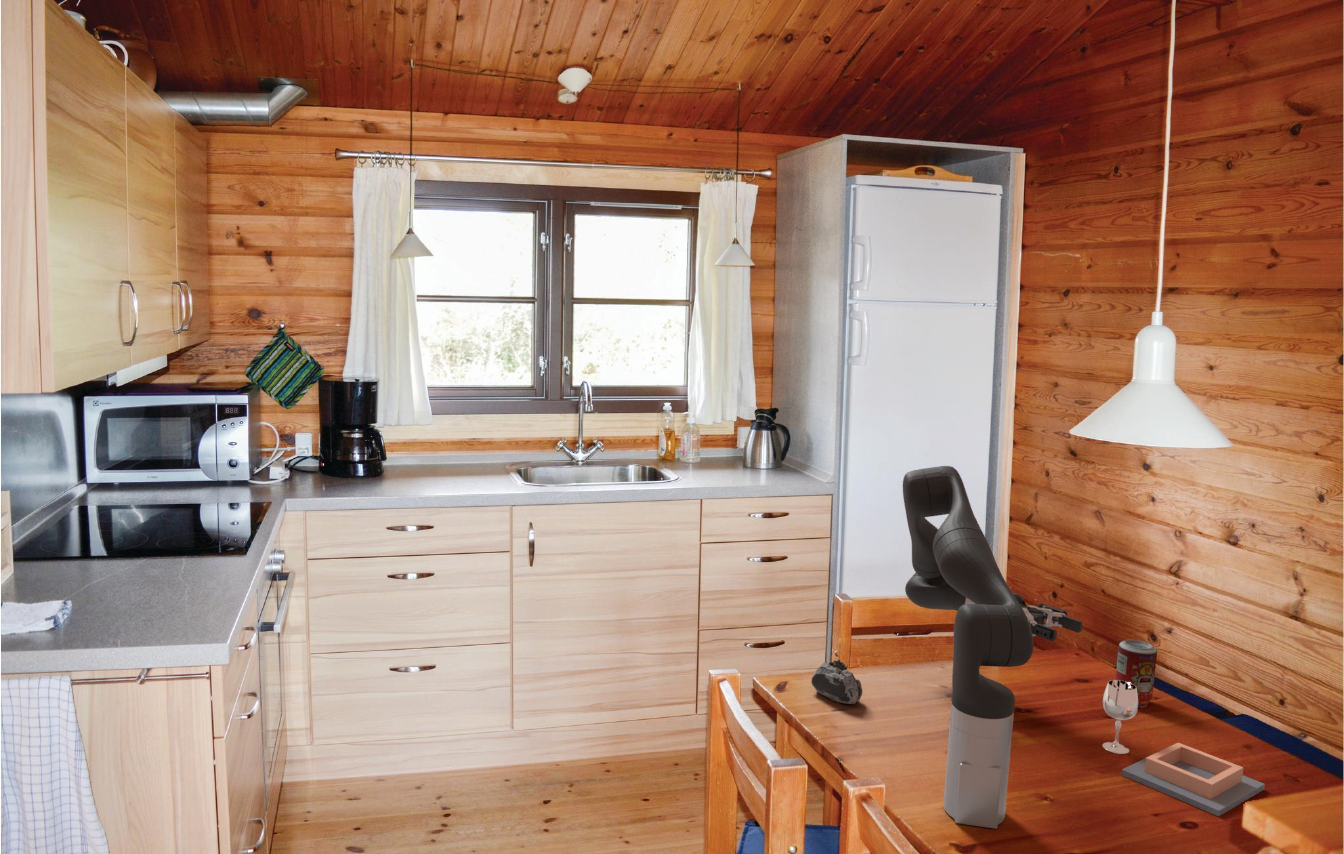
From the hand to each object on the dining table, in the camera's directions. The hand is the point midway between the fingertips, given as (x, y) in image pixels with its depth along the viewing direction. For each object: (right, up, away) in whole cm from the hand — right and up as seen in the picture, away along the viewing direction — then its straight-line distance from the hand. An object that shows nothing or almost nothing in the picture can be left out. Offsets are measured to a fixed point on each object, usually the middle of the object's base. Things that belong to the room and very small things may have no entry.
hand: (1068, 631), depth 184 cm
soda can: (+19, -18, +15) cm, 30 cm away
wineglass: (+6, -20, -6) cm, 22 cm away
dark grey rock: (-40, -16, +13) cm, 45 cm away
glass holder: (+13, -22, -18) cm, 31 cm away
